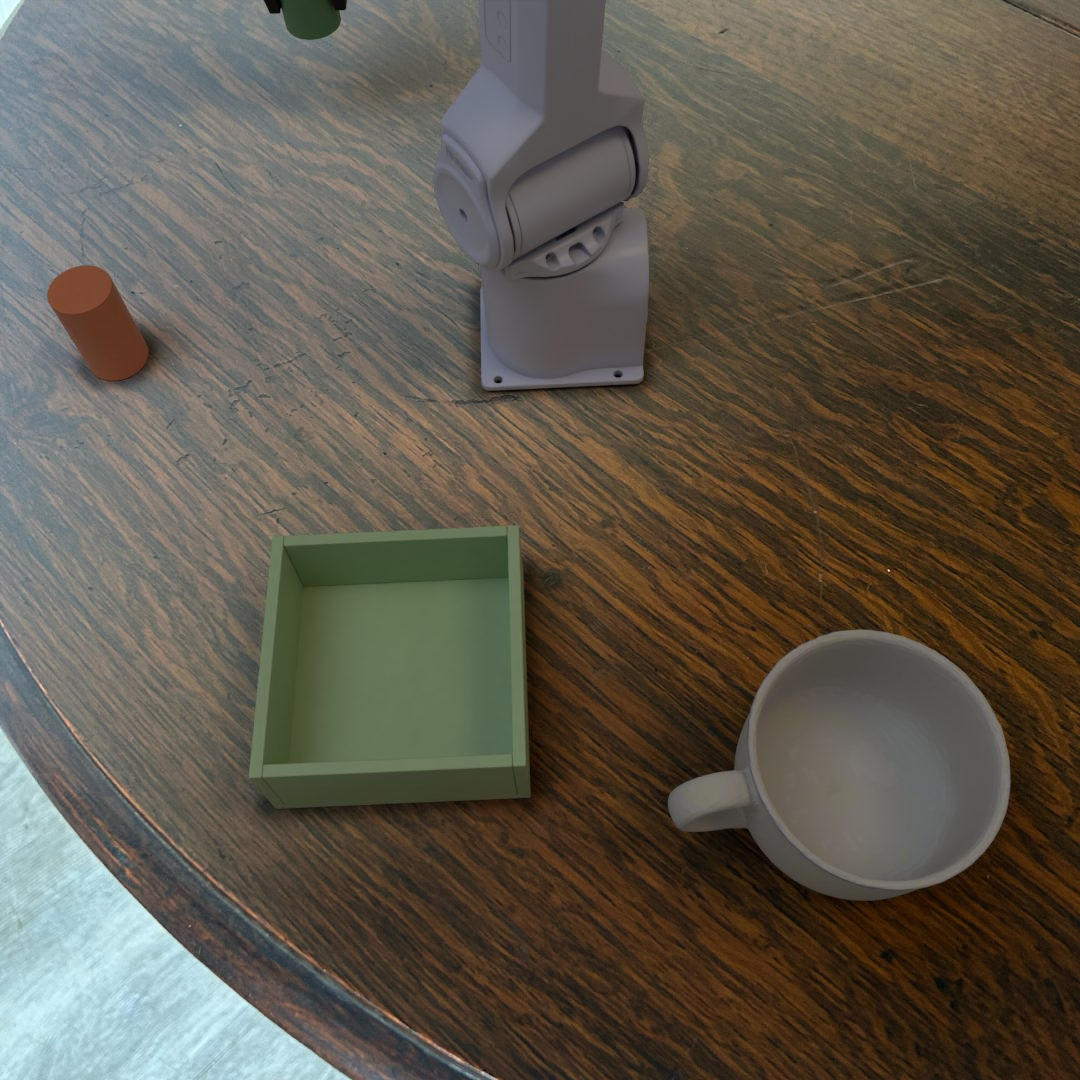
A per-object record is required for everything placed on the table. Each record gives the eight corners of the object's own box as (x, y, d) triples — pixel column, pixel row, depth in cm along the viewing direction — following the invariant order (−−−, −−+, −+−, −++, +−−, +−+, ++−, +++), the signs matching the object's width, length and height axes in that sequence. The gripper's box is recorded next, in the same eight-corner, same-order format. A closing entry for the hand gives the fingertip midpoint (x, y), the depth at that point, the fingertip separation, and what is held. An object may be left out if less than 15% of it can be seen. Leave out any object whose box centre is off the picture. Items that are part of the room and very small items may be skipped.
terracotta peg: (152, 332, 66) (116, 263, 61) (144, 379, 65) (106, 312, 59) (94, 335, 66) (53, 266, 61) (84, 382, 65) (41, 315, 59)
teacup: (928, 690, 54) (980, 622, 47) (979, 918, 48) (1047, 880, 41) (647, 702, 54) (657, 636, 47) (667, 931, 48) (682, 895, 41)
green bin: (523, 571, 57) (519, 524, 53) (530, 798, 51) (526, 765, 47) (294, 582, 58) (271, 535, 53) (275, 809, 52) (247, 778, 47)
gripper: (392, -280, 59) (423, -42, 71) (129, -266, 59) (204, -31, 71) (388, -212, 56) (421, 27, 68) (108, -197, 56) (190, 38, 68)
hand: (309, 2), depth 69 cm, fingers closed on green peg, 3 cm apart
